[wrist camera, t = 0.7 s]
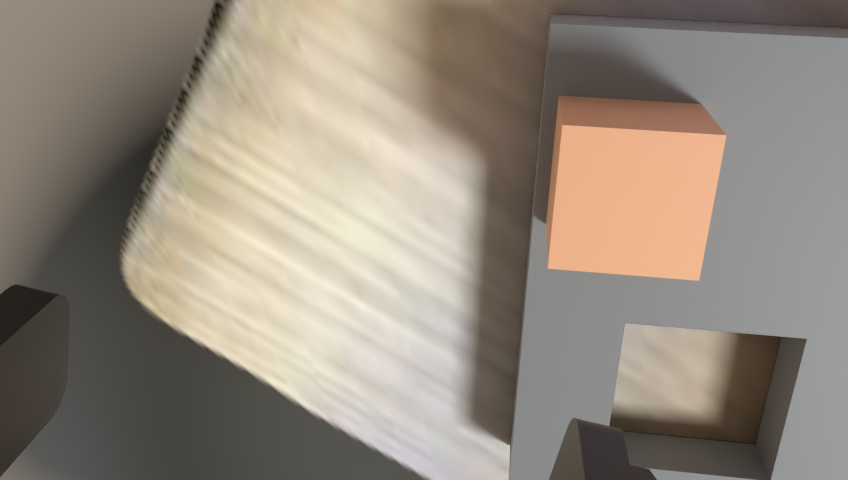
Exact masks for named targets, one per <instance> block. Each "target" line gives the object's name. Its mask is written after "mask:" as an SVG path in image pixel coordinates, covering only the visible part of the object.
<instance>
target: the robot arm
mask: <svg viewBox="0 0 848 480" xmlns="http://www.w3.org/2000/svg"><path fill="white" fill-rule="evenodd" d="M68 341H69V302H68V300H67V298H66V297H65V296H63V295H59V294H55V293H51V292H47V291H42V290H38V289H34V288H29V287H26V286H21V285H13V286H11V287H9V288H8V289H6V290H5V291H4V292H3V293H1V294H0V477H1V475H2V474H3V473H4V472H5V471H6V470H7V469H8V468H9V466H10V465H11V464H12V463H13V462H14V461H15V460H16V458H17V457H18V456H19V455H20V454H21V453H22V452H23V450H24V449H25V448H26V447H27V446H28V445H29V444H30V442H31V441H32V440H33V439H34V438H35V437H36V435H37V434H38V433H39V432H40V431H41V430H42V429H43V427H44V426H45V425H46V424H47V423H48V422H49V420H50V419H51V418H52V417H53V415H54V414H55V412H56V411H57V409H58V407H59V405H60V403H61V400H62V398H63V395H64V392H65V388H66V383H67V371H68ZM549 480H657V479H656V478H655V476H654V475H653V474H652V472H651V471H650V469H645V468H641V467H637V466H633V465H630V463H629V459H628V454H627V449H626V444H625V440H624V435H623V432H622V430H621V429H619V428H615V427H611V426H606V425H602V424H598V423H594V422H589V421H585V420H581V419H577V418H573V419H572V420H571V421H570V423H569V425H568V427H567V430H566V433H565V435H564V438H563V441H562V444H561V447H560V450H559V452H558V455H557V458H556V461H555V464H554V466H553V469H552V472H551V475H550V478H549Z"/></svg>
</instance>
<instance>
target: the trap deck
mask: <svg viewBox="0 0 848 480" xmlns="http://www.w3.org/2000/svg"><path fill="white" fill-rule="evenodd" d="M558 96H575V97H592V98H609V99H626V100H643V101H660V102H677V103H694V104H702V105H703V106H704V108H705V109H706V110H707V111H708V113H709V114H710V115H711V116H712V118H713V119H714V120H715V121H716V123H717V124H718V125H719V126H720V128H721V129H722V130H723V131H724V133H725V134H726V141H725V146H724V151H723V157H722V162H721V167H720V173H719V178H718V183H717V189H716V194H715V199H714V205H713V210H712V215H711V221H710V226H709V231H708V237H707V242H706V247H705V253H704V258H703V263H702V268H701V274H700V279H699V281H695V280H683V279H670V278H658V277H645V276H633V275H621V274H608V273H596V272H583V271H571V270H558V269H548V265H547V240H546V217H547V207H548V197H549V187H550V177H551V167H552V157H553V147H554V137H555V127H556V117H557V106H558ZM625 323H629V324H641V325H652V326H664V327H676V328H687V329H699V330H710V331H722V332H734V333H745V334H757V335H768V336H780V337H781V341H780V345H779V349H778V354H777V358H776V362H775V366H774V370H773V374H772V378H771V383H770V387H769V391H768V395H767V399H766V403H765V407H764V412H763V416H762V420H761V424H760V428H759V432H758V436H757V441H756V444H747V443H737V442H727V441H717V440H707V439H697V438H686V437H676V436H666V435H656V434H646V433H636V432H626V431H622V432H623V435H624V440H625V444H626V449H627V454H628V459H629V463H630V465H633V466H637V467H641V468H645V469H650V471H651V472H652V474H653V475H654V476H655V478H656V479H657V480H848V28H835V27H815V26H794V25H773V24H753V23H732V22H712V21H691V20H671V19H650V18H629V17H609V16H588V15H568V14H550V16H549V27H548V38H547V49H546V60H545V71H544V82H543V93H542V104H541V115H540V126H539V136H538V147H537V158H536V169H535V180H534V191H533V202H532V213H531V224H530V235H529V246H528V257H527V268H526V279H525V290H524V301H523V312H522V323H521V334H520V345H519V356H518V367H517V378H516V389H515V400H514V411H513V422H512V433H511V444H510V467H509V480H549V478H550V475H551V472H552V469H553V466H554V464H555V461H556V458H557V455H558V452H559V450H560V447H561V444H562V441H563V438H564V435H565V433H566V430H567V427H568V425H569V423H570V421H571V420H572V419H573V418H577V419H581V420H585V421H589V422H594V423H598V424H602V425H606V426H609V425H610V419H611V412H612V405H613V399H614V392H615V385H616V379H617V372H618V365H619V359H620V352H621V345H622V339H623V332H624V326H625Z"/></svg>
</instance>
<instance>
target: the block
mask: <svg viewBox="0 0 848 480" xmlns="http://www.w3.org/2000/svg"><path fill="white" fill-rule="evenodd" d="M725 141H726V134H725V133H724V131H723V130H722V129H721V128H720V126H719V125H718V124H717V123H716V121H715V120H714V119H713V118H712V116H711V115H710V114H709V113H708V111H707V110H706V109H705V108H704V106H703V105H702V104H694V103H677V102H660V101H643V100H626V99H609V98H592V97H575V96H558V106H557V117H556V127H555V137H554V147H553V157H552V167H551V177H550V187H549V197H548V207H547V217H546V240H547V265H548V269H558V270H571V271H583V272H596V273H608V274H621V275H633V276H645V277H658V278H670V279H683V280H695V281H699V279H700V274H701V268H702V263H703V258H704V253H705V247H706V242H707V237H708V231H709V226H710V221H711V215H712V210H713V205H714V199H715V194H716V189H717V183H718V178H719V173H720V167H721V162H722V157H723V151H724V146H725Z"/></svg>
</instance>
